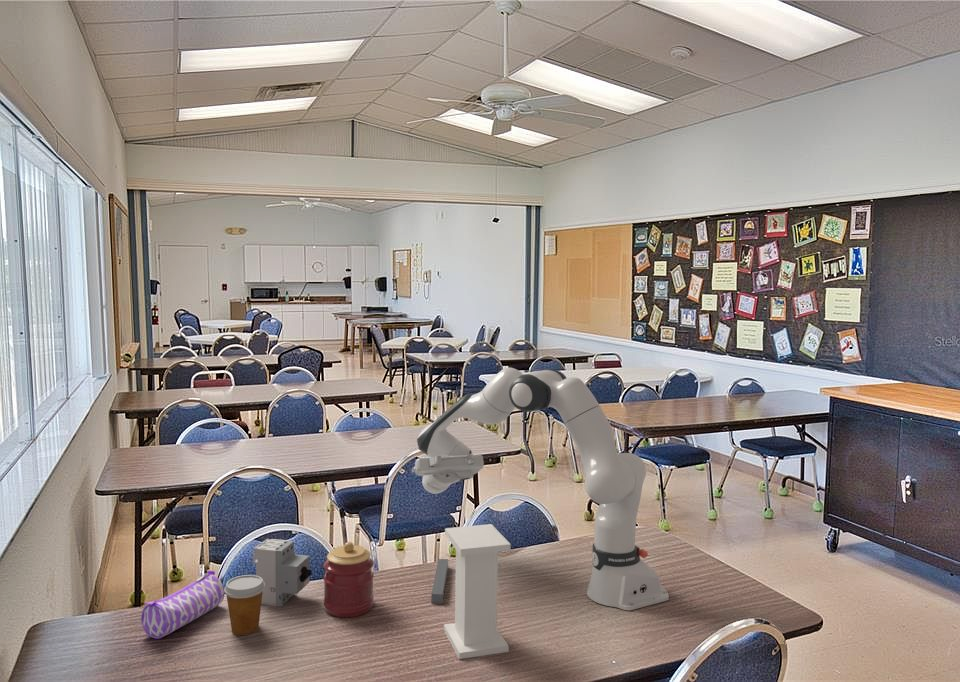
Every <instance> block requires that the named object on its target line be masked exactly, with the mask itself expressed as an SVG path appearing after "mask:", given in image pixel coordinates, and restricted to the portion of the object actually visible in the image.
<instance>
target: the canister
mask: <svg viewBox="0 0 960 682" xmlns="http://www.w3.org/2000/svg"><path fill="white" fill-rule="evenodd" d="M326 559H327V560H326V561H325V562H324V564H323V569H324V570H325V573H324V576H323V581H324V582H323V583H324V586H323V589H324V591H323V593H324V594H323V595H324V596H323V597H324V598H323V606H324V610H325V612H326V613H327V614H328V615H331V616H333V617H337V618H353V617H358V616H361V615H364V614H366V613H367V612H369V611H370V610H371V609H372V608H373V603H374V576H375V575H374V572H373V571H372V570H373V569H372V568H373V567H374V564H375V563H374V560H373V559H372V557H371V552H370V551H369V550H368V549H366V548H365V547H363V546H360V545H355V544H354V543H353V542H351V541H347V542H345V544H343V545H341V546H337V547H335V548H334V549H332V550H331V551H330V552H328V553H327V555H326Z"/></svg>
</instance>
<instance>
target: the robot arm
mask: <svg viewBox="0 0 960 682" xmlns="http://www.w3.org/2000/svg"><path fill="white" fill-rule="evenodd" d="M548 408H553V409H555V410H556V411H557V413H558V414H559V416H560V418H561V420H562V422H563V423H564V425H565V427H566V429H567V431H568V432H569V435H570V437H571V438H572V440H573V442H574V444H575V446H576V448H577V451H578V454H579V457H580V460H581V463H582V468H583V471H584V477H585V481H584V487H585V492H586V494H587V496H588V497H589V498H590V499H591V500H592V501H593V502H594V503H597V504H599V505H598V508H597V511H596V513H595V518H594V538H593V539H594V540H593V541H594V542H593V543H592V549H591V550H592V553H591V563H592V569H591V575H590V579H589V584H588V587H587V590H586V595H587V597H588V598H589V599H590V600H592V601H593V602H595V603H598V604H600V605H604V606H607V607H612V608H619V609H620V610H623V611H634V610H637V609H640V608H644V607H647V606H651V605H656V604H659V603H660V604H661V603H663V602H666V601H669V599H670V598H669V597H670V596H669V593H668V591H667V590H666V588H665V587H663V586H662V585H661V581H660V576H659V574H658V573H657V571H655V570H654V568H652V566H650V565H648V564H647V563H646V562H645V561H644V560H643V559H646V558H647V557H648V555H649V554H648V552H647V550H645V549H644V548H640V547H639V546H638V545H636V531H637V529H636V527H637V526H636V525H637V516H638V512H639V511H638V510H639V507H640V502H641V496H642V491H643V484H644V482H645V481H644V480H645V478H646V475H647V468H646V467H647V466H646V464H645V462H644V461H643V459H642V458H641V457H640V456H639V455H637V454H635V453H632V452H631V453H630V452H620V453H618V450H617V446H616V444H615V439H614V430H613V427H612V425H611V423H610V422H609V420H608V418H607V416H606V414H605V413H604V410H603V409H602V407H601V405H600V404H599V402H598V401H597V399H596V397H595V396H594V394H593V393H592V392H591V390H590V388H588V386H587V384H585V383H584V381H583V380H582V379H581V378H578V377H566V375H565V374H564V373H563V372H561V371H560V370H557V369H552V368H551V369H550V368H547V369H543V370H534V371H531V372H528V373H526V374H525V373H524V374H523V372H521V371H520V370H519V369H516V368H514V367H505V368H502V369H501V370H500V371H499V372H498V373H497V374H495V375H494V376H493V377H492V378H491V379H490V380H489V381H488V383H487V384H486V385H485V386H484V387H483V389H481V391H479V392H477V393H474V394H470V393H466V394H464V396H461V397H460V398H459V399H458V400H457V401H456V402H454V403H453V404H452V405H451V406H450V407H449V408H448V409H447V410H445V411H444V412H443V413H442V414H441V415H440V416H438V418H436V419H435V420H434V421H432V422H431V423H430V424H428V425H427V426H425V427H424V428H423V429H422V430H421V431H420V433H419V434H418V435H417V439H416V442H417V443H416V444H417V448H418V450H419V451H420V452H422V453H423V454H425V455H426V456H429V457H420V458H417V459H416V460H415V462H414V467H412V469H410V470H411V473H415V475H416V476H418V477H419V476H420V477H422V479H421V480H422V481H421V484H422V486H423V488H424V490H426V491H427V492H428V493H430V494H432V495H433V494H434V495H436V494H437V495H438V494H441V493H442V492H444V491H446V490H447V489H448V488H450V486H451V485H452V484H456V483H457V482H461V481H466V480H471V479H473V478H474V475H475V474H477V473H479V472H480V471H481V470H482V469H483V468H484V466H485V465H484V464H485V462H484V457H483V455H482V454H474V453H472V449H471V448H470V447H468V446H467V445H466V444H465V443H463V442H462V441H460V440H459V439H458V438H456V437H455V436H454V435H452V434H451V433H450V432H449V431H448V430H447V428H448V427H449V426H450V425H451V424H452V423H454V422H455V420H457V419H459V418H460V419H461V418H464V419H469V420H472V421H475V422H478V423H480V424H483V425H489V426H490V425H491V426H492V425H493V426H494V425H498V424H501V423H502V422H503V421H505V420H506V419H507V418H508V417H510V415H511V413H512V412H513V411H514V410H515V409H517V410H519V411H522V412H528V413H529V412H530V413H531V412H536V411H537V412H538V411H540V410H541V411H542V410H546V409H548ZM641 558H642V559H641Z"/></svg>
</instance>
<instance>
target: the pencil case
mask: <svg viewBox="0 0 960 682" xmlns="http://www.w3.org/2000/svg"><path fill="white" fill-rule="evenodd" d="M215 575H216V572H215V570H210V569H208V570H207V572H205V573H204V574H203V575H202V576H200V577H199V578H197V579H196V580H195V581H193V582H191V583H189V584H188V585H186V586H185V587H182V588H181V589H180V590H177V591H176V592H173V593H172V594H169V595H167V596H166V597H163V598H161V599H155V600H152V601H147V602H144V604H145V605H144V607H143V609H142V612H141V616H140V618H141V619H140V620H141V627H142V629H143V631H144V632H145V634H146V635H147V636H148V637H150V638H153V639H156V640H160V639H162V638H164V637H165V636H168V635H170V634H171V633H173V632H175V631H176V630H178V629H180V628H181V627H182V628H183V627H184V626H185V625H188V624H189V623H191V622H193V621H194V620H196V619H198V618H199V617H202V616H203V615H205V614H207V613H208V612H210V611H211V610H213V609H214V608H216V607H218V606H219V605H221V603H222V602H223V601H224V599H225V596H226V594H225V592H224V588H225V587H224V585H223V583H222V582H221V579H220V578H219V577H217V576H215Z"/></svg>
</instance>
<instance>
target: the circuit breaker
mask: <svg viewBox="0 0 960 682" xmlns="http://www.w3.org/2000/svg"><path fill="white" fill-rule="evenodd" d="M252 564H253V565H255V568H256V569H255V575H256V576H259V577H261V578H262V579H263V582H264V584H265V587H264V589H263V593H262V602H261V605H268V606H276V607H282V606H283V605H285V603H286V602H287V601H289V599H291V598H292V597H293V596H294V595H298V594H299V593H300V592H301V591H302V590H303V588H305V587H306V586H307V585H308V584H309V583H311V581H310V579H311V577H310V576H312V574H313V573H312V569H310V555H305V554H296V553H295V541H294V540H288V539H278V538H277V539H275V538H271V539H270V538H266V539H265V540H263V541H262V542H261V543H259V544H258V545H256V546H255V547H253V553H252Z"/></svg>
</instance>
